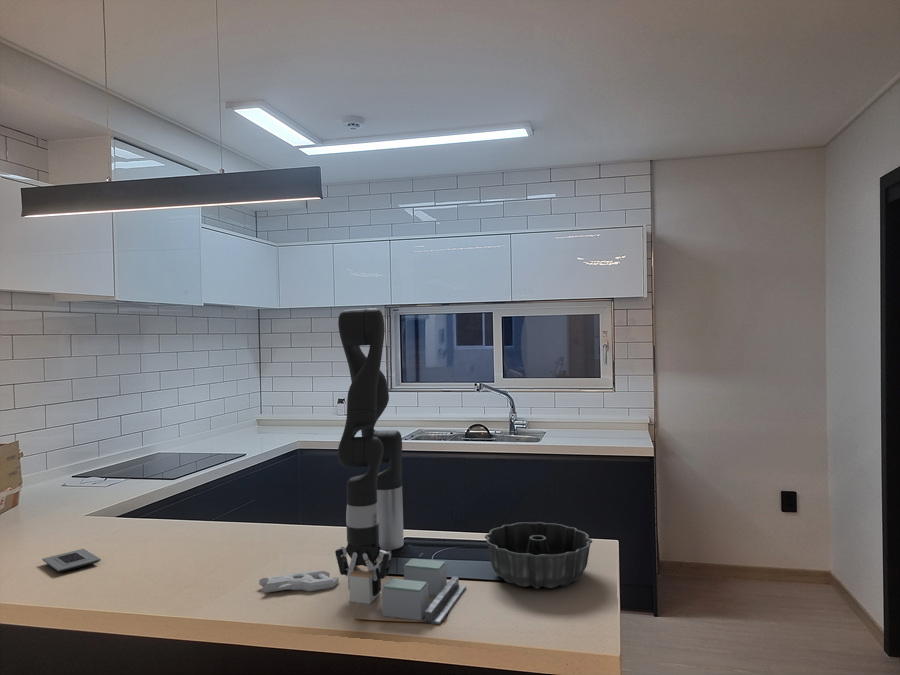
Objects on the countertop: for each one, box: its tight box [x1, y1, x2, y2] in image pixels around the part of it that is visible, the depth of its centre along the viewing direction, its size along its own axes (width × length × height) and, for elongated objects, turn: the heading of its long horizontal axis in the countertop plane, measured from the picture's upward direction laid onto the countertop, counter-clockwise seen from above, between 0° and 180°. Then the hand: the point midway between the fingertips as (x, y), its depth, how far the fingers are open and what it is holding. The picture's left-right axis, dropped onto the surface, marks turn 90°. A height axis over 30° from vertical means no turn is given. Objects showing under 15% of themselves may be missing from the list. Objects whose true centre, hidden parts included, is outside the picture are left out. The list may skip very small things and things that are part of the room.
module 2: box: [403, 558, 448, 597], centre depth 161 cm, size 5×9×6 cm, turn 72°
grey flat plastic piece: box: [258, 569, 340, 594], centre depth 165 cm, size 18×4×10 cm
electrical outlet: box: [41, 548, 102, 573], centre depth 185 cm, size 13×10×2 cm
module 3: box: [381, 578, 430, 621], centre depth 149 cm, size 5×9×6 cm, turn 72°
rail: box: [424, 576, 467, 625], centre depth 153 cm, size 20×3×2 cm, turn 162°
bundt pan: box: [484, 521, 593, 590], centre depth 168 cm, size 26×26×10 cm
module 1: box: [348, 565, 381, 605], centre depth 158 cm, size 6×5×6 cm
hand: (364, 593), depth 158 cm, fingers closed on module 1, 5 cm apart
